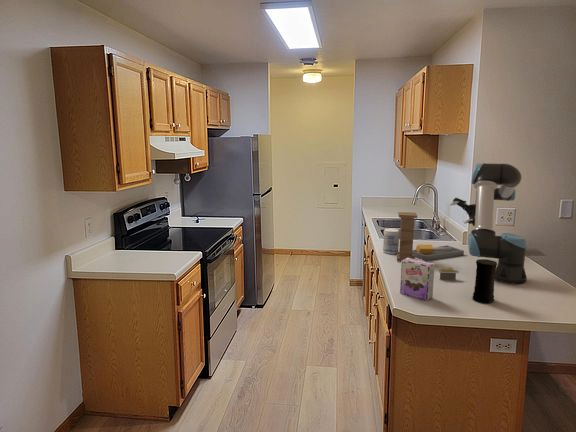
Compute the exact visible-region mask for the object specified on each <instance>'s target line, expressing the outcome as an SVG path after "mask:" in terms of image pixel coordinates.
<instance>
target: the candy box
mask: <svg viewBox="0 0 576 432" xmlns="http://www.w3.org/2000/svg"><path fill="white" fill-rule="evenodd" d="M435 267H436V264H435V263H433V262H428V261H424V260H421V259H416V258H415V259H411V258H406V259H403V260H402V262H401V267H400V268H401V269H400V270H401V271H400V290H399V293H400V292H401V293H400V294H402V293H404V294H403V295H405V294H407V295H406V296H409V295H410V296H409V297H412V296H414V297H413V298H415V297H417V299H419V298H420V299H419V300H422V299H423V301H426V300H427V301H429V300H431V299H432V298H433V297H434V295H433V292H434V280H435Z"/></svg>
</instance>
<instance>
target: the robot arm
mask: <svg viewBox="0 0 576 432" xmlns="http://www.w3.org/2000/svg"><path fill="white" fill-rule="evenodd" d="M471 177H472V178H471V185H473V187H474V189H475V190H476V192H475V203H473V204H472V203H471V204H467V200H464V199H461V198H459V197H455V198H453V200H452V202H451V203H450V204H449V206H456V205H457V206H458V207H460V208H461V209H462V210H464V211H465V213H466V215H468V217H469V219H466V220H465V221H464V222H463V224H469V225H470V224H471V225H472V226H473V227H474V228H473V229H472V230H471V233H468V234H467V242H468V243H467V244H468V252H469V255H470V256H472V257H478V258H485V259H487V258H488V259H498V262H497V266H496V269H495V272H496V273H495V280H496V281H498V282H501V283H504V284H510V285H523V284H526V283H527V280H528V277H527V274H526V273H527V272H526V268H525V261H526V259H525V258H526V249H527V240H526V238H525V237H523V236H520V235H517V234H514V233H507V232H503V233H502V232H501V234H500V235H496V231H495V230H494V229H493V228H494V227H493V226H494V225H493V223H494V202H495V201H507V202H509V201H511V202H512V201H515V200H516V199H515V198H516V187H517V186H519V184H520V183H521V181H522V174H521V171H520V170H519V169H518V168H517V167H516V166H514V165H512V164H509V163H484V162H483V163H482V162H481V163H476V164H475V165H474V168H473V173H472V176H471ZM498 186H500V187H498Z"/></svg>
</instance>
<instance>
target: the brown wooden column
mask: <svg viewBox="0 0 576 432" xmlns="http://www.w3.org/2000/svg"><path fill="white" fill-rule="evenodd" d="M397 214H398V218H400V228H399V250H398V253H397V254H395V255H396V257H397V258H396V257H395V258H396V262H397V261H402V260H403V259H406V258H411V259H415V260H416V257H414V255H412V251H413V250H414V248H413V247H414V230H415V228H414V226H415V219H418V214H417V212H410V211H409V212H407V211H399V212H398V213H397Z"/></svg>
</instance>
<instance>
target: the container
mask: <svg viewBox="0 0 576 432" xmlns="http://www.w3.org/2000/svg"><path fill="white" fill-rule="evenodd" d="M475 264H476V270H475V281H474V282H475V283H474V289H473V293H472V300H473V301H475V302H476V303H479V304H484V305H485V304H486V305H487V304H493V303H494V302H495V294H494V293H495V282H496V281H495V280H496V279H495V273H496V272H495V269H496V267H497V265H498V262H497V261H496V260H492V259H489V258H488V259H487V258H484V259H483V258H480V259H476V261H475Z"/></svg>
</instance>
